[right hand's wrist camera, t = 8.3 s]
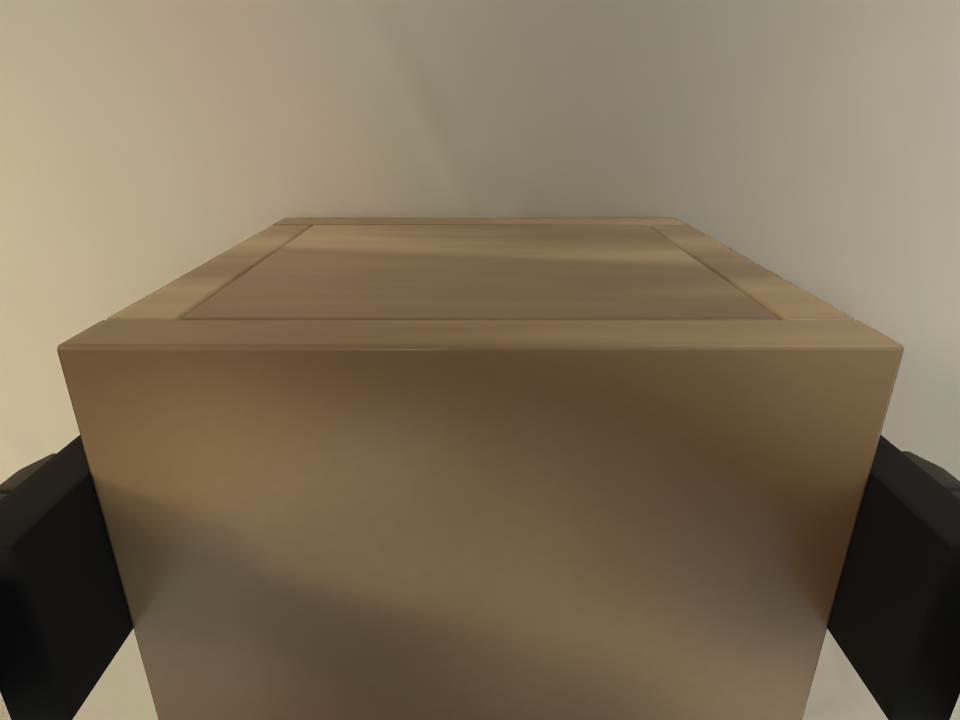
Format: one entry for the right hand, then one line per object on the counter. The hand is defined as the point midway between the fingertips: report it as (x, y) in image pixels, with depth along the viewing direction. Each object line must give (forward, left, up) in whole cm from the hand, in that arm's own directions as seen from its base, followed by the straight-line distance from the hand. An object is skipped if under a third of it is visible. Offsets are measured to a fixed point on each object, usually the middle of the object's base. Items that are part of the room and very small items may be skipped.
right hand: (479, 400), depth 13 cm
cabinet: (+2, -4, -4) cm, 7 cm away
